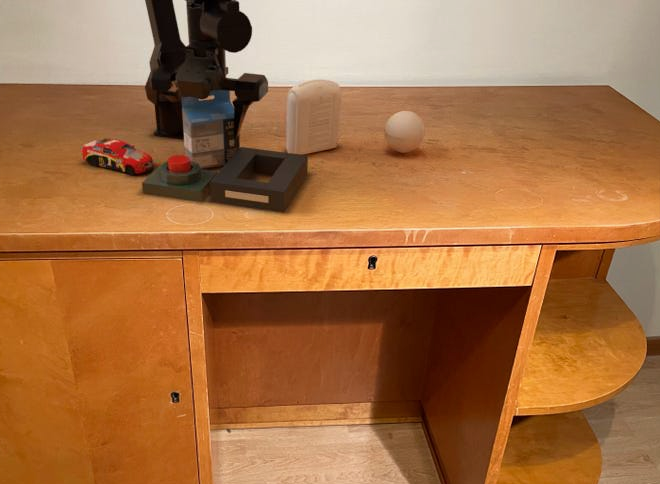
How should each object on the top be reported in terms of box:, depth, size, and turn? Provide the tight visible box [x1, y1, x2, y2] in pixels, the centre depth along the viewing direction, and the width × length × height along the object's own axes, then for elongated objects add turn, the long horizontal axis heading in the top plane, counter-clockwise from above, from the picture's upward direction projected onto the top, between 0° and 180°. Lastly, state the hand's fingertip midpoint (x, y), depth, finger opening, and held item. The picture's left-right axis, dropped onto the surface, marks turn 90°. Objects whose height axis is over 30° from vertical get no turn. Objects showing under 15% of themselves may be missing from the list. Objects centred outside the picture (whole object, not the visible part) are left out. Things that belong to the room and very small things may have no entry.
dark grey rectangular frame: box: [210, 146, 309, 213], centre depth 115 cm, size 12×15×4 cm
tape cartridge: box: [182, 90, 241, 170], centre depth 120 cm, size 9×4×12 cm, turn 117°
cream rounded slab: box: [285, 78, 342, 155], centre depth 127 cm, size 10×4×12 cm, turn 123°
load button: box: [167, 154, 191, 173], centre depth 113 cm, size 4×4×2 cm
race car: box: [81, 138, 154, 177], centre depth 121 cm, size 13×5×4 cm, turn 63°
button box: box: [141, 161, 219, 203], centre depth 115 cm, size 10×8×4 cm
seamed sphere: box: [375, 110, 425, 154], centre depth 129 cm, size 10×7×7 cm
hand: (211, 134), depth 121 cm, fingers open, 8 cm apart
